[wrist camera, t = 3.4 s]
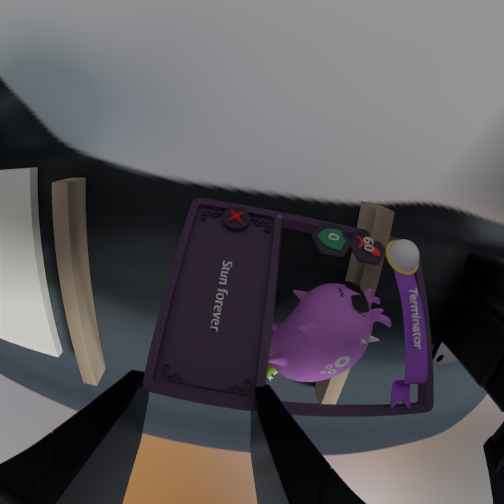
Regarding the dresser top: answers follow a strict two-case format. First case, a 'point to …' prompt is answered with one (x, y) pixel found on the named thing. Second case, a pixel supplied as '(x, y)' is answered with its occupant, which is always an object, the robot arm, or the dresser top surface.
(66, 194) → the rails
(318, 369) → the game card
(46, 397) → the dresser top surface
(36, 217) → the pad
